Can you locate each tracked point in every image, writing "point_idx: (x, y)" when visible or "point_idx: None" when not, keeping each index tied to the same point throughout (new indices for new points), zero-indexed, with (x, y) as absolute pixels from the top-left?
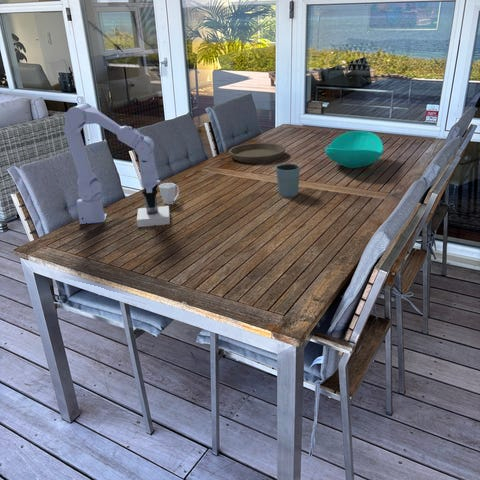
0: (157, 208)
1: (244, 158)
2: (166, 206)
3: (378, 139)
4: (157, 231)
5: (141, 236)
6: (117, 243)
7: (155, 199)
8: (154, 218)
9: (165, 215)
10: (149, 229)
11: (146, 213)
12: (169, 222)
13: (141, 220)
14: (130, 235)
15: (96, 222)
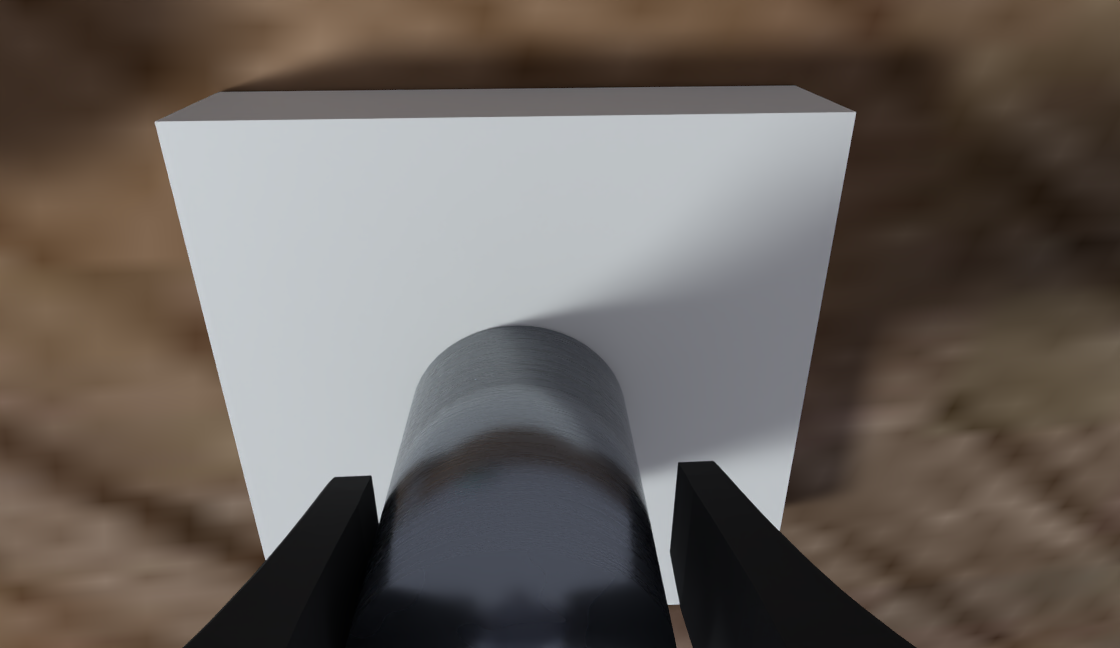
0: (564, 377)
1: None
2: (205, 173)
3: None
4: (992, 275)
5: (1043, 455)
6: (1084, 642)
7: (613, 549)
8: (805, 374)
9: (749, 187)
10: (867, 381)
11: None
12: (808, 94)
13: None
14: (946, 562)
15: None
